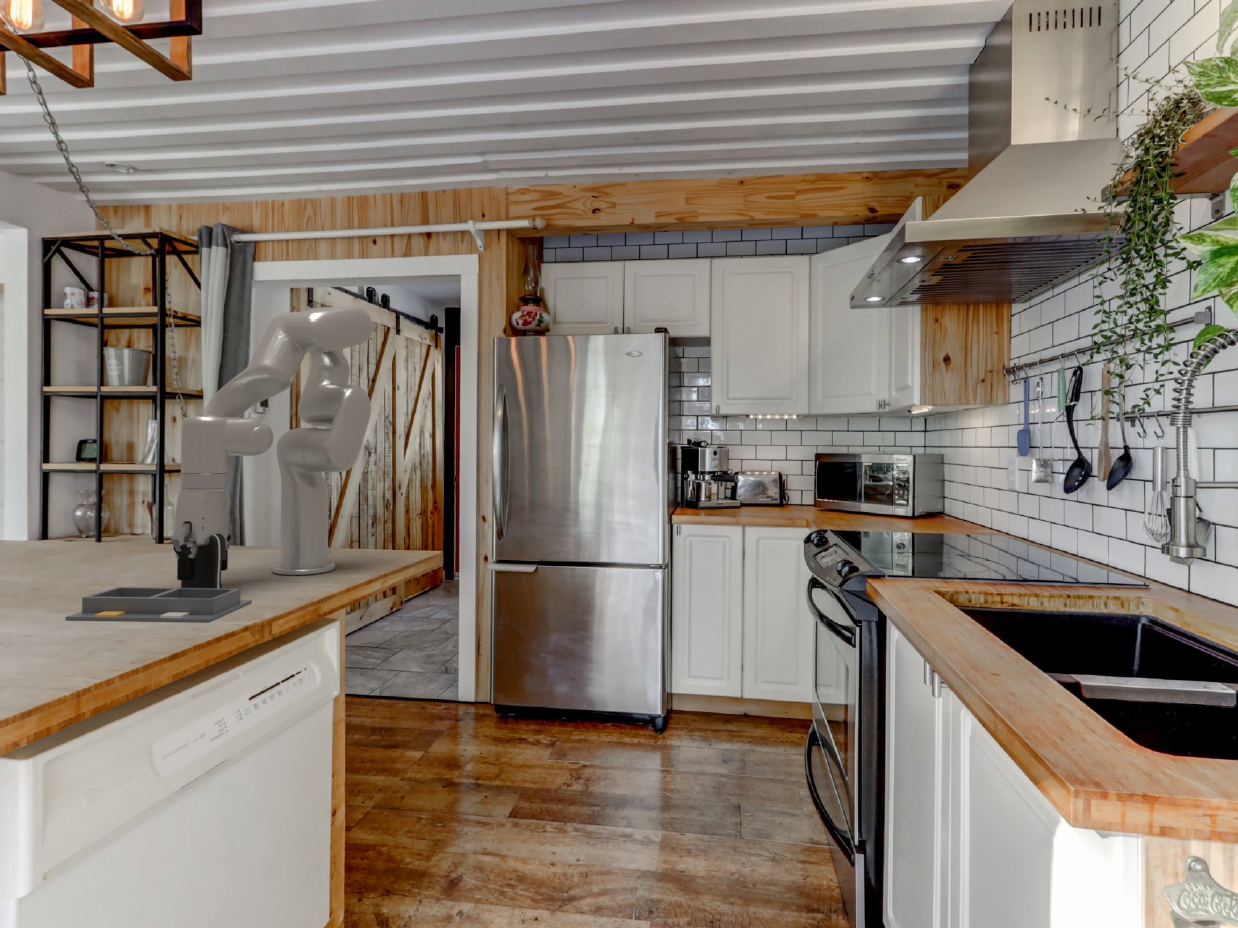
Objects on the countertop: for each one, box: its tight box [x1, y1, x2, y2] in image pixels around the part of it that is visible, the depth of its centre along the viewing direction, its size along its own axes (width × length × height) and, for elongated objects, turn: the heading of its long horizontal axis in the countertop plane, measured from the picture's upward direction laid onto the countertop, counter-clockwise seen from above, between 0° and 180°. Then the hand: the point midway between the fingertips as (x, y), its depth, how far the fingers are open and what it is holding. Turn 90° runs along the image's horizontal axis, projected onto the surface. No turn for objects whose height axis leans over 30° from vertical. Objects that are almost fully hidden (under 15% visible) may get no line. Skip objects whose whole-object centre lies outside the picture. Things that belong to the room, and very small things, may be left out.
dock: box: [64, 586, 253, 623], centre depth 111 cm, size 13×22×3 cm, turn 92°
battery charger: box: [180, 534, 227, 589], centre depth 124 cm, size 7×4×11 cm, turn 89°
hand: (203, 574), depth 123 cm, fingers open, 9 cm apart
